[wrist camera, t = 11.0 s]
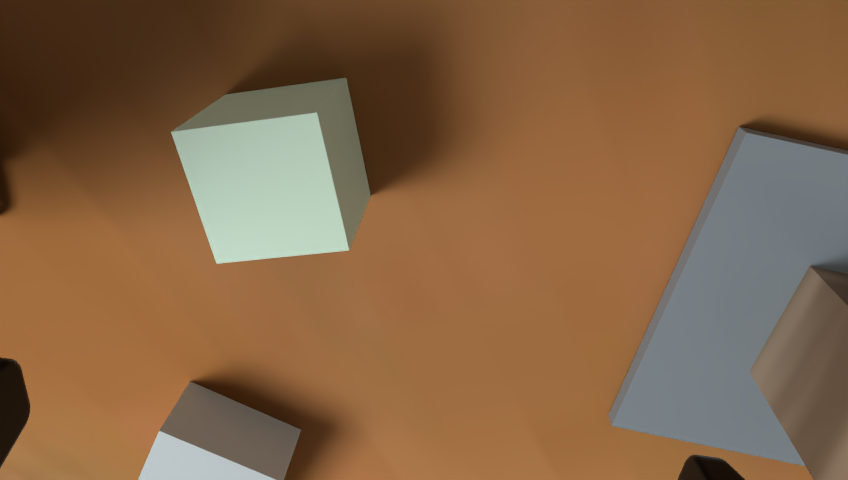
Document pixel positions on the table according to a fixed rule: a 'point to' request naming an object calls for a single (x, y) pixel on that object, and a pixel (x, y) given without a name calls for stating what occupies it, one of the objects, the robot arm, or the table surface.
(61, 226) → the table surface
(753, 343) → the slate coaster
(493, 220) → the table surface
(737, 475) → the robot arm
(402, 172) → the table surface
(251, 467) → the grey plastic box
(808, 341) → the walnut pillar
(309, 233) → the pale green cube
